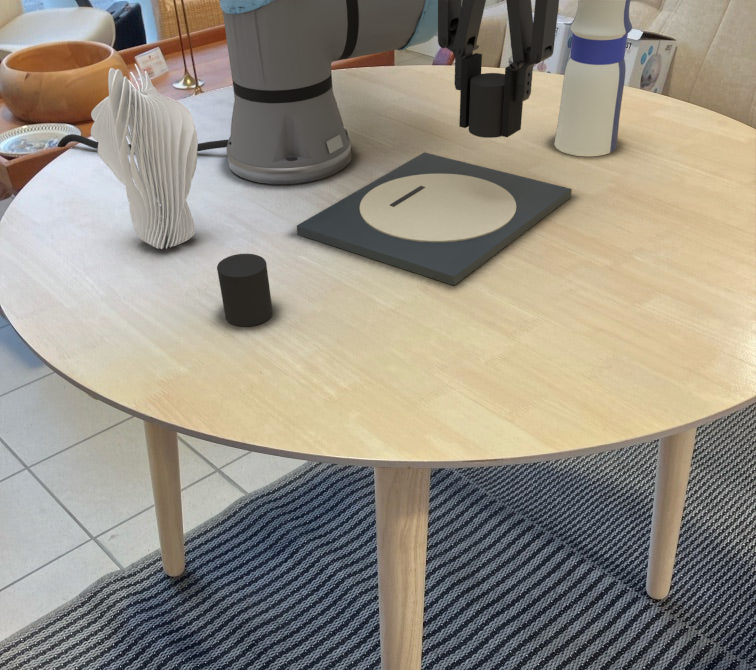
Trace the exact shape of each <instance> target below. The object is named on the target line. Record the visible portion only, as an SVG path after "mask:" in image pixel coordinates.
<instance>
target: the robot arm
mask: <svg viewBox="0 0 756 670" xmlns="http://www.w3.org/2000/svg"><path fill="white" fill-rule="evenodd" d="M505 1H506V11H507V21H508V27H509V28H508V29H509V39H510V47H511V55H512V56H511V57H512V62H511V63H509V64H508V66H506V67H505V69H504V74H505V82H504V98H503V114H502V129H501V137H504V138H509V137H511V136H513V135H514V134H516V133H517V132H519V131H520V130H521V129H522V119H523V118H522V117H523V105H524V102H525V101H526V100H528V99H530V96H531V94H532V83H533V74H534V73H533V72H534V66H535V65H538V64H539V63H542V62H543V61H545V60H548V59H549V58H551V57H552V56H553V54H554V49H555V41H556V33H557V25H558V24H557V23H558V14H559V7H560V6H559V5H560V0H535V1H534V10H533V5H532V0H505ZM486 3H487V0H219V6H220V10H221V11H222V18H223V25H224V31H225V38H226V45H227V53H228V60H229V67H230V75H231V80H232V88H233V96H234V97H233V98H234V101H233V108H232V114H231V123H230V136H229V137H228V139H221V140H213V141H205V142H200V143H199V142H198V147H197V153H198V152H202V151H207V150H214V149H215V150H216V149H222V148H223V149H224V148H226V154H227V155H226V156H227V161H228V167H229V169H230V171H232V173H233V174H235V176H238V177H240V178H242V179H245V180H248V181H251V182H256V183H259V184H268V185H295V184H302V183H303V184H304V183H308V182H309V183H310V182H314V181H318V180H322V179H325V178H327V177H330V176H333V175H335V174H337V173H339V172H340V171H342V170H343V169H345V168H346V167H347V166H349V164H350V162H351V161H352V157H353V156H352V141H351V137H350V135H349V133H348V131H347V129H346V128H345V125H344V123H343V119H342V116H341V112H340V110H339V105H338V103H337V100H336V97H335V94H334V89H333V78H332V77H333V74H332V73H333V72H332V63H333V62H337V61H343V60H344V61H345V60H349V59H355V58H360V57H365V56H371V55H375V54H382V53H386V52H391V51H392V52H393V51H400V52H401V51H405V50H406V49H408V48H410V47H414V46H417V45H422V44H425V43H427V42H429V41H431V40H432V39H433V38H434V37H436V35H437V44H438V46H439V48H442V49H447V50H449V51H450V52H451V53H452V54H453V56H454V88H455V90H456V91H460V93H459V94H460V95H459V127H458V128H463V129H466V128H469V105H470V81H471V78H472V77H474V76H476V75H479V74H482V63H483V54H482V53H478V52H475V51H477V50H478V49H479V48H480V45H478V44H477V42H478V38H479V33H480V30H481V24H482V20H483V15H484V12H485V7H486ZM474 52H475V53H474ZM72 142H76V143H78V144H82V145H85V146H87V147H89V148H93V149H95V150H98V143H99V142H97V141H96V140H94V139H91V138H88V137H86V136H83V135H79V134H73V133H70V134H67V135H65V136H63V137H62V138H61V139H60V141H58V144H57V148H65V147H66V146H67V145H69V143H72ZM128 144H129V147H130V150H131V144H130V143H128Z"/></svg>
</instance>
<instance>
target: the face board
mask: <svg viewBox="0 0 756 670" xmlns="http://www.w3.org/2000/svg"><path fill="white" fill-rule="evenodd" d="M572 191H573V189H572V188H570V187H566V186H562V185H559V184H554V183H550V182H546V181H542V180H538V179H534V178H529V177H525V176H523V175H522V176H521V175H517V174H513V173H511V172H505V171H501V170H497V169H493V168H491V167H486V166H481V165H478V164H473V163H469V162H465V161H461V160H457V159H453V158H449V157H445V156H441V155H437V154H433V153H429V152H425V151H424V152H422V153H421V154H419V155H417V156H415V157H413V158H412V159H410V160H408V161H406V162H404V163H403V164H401V165H400V166H397V167H396V168H395V169H393V170H391V171H389V172H387V173H385V174H384V175H382V176H381V177H379V178H377V179H375V180H373V181H372V182H370V183H368V184H367V185H364V186H363V187H361V188H359V189H358V190H356V191H354V192H352V193H350V194H349V195H347V196H345V197H344V198H342V199H340V200H339V201H337V202H335V203H333V204H331V205H330V206H328V207H326V208H324V209H323V210H320V212H317V213H315V214H314V215H312V216H311V217H309V218H307V219H306V220H304V221H302V222H300V223H298V224H296V234H297V235H298V236H301V237H304V238H308V239H310V240H314V241H316V242H320V243H323V244H326V245H329V246H332V247H335V248H338V249H341V250H344V251H347V252H350V253H353V254H356V255H360V256H362V257H365V258H368V259H371V260H374V261H377V262H381V263H384V264H387V265H390V266H393V267H396V268H399V269H401V270H405V271H408V272H411V273H414V274H417V275H421V276H424V277H425V278H426V277H427V278H430V279H432V280H436V281H439V282H442V283H445V284H447V285H451V286H456V285H457V284H459V283H460V282H461V281H462V280H464V279H465V278H466V277H467V276H469V275H470V274H471V273H473V272H475V271H476V270H477V269H479V268H480V267H481V266H482V265H483V264H485V263H486V262H487V261H489V260H490V259H491V258H493V257H494V256H495V255H496V254H498V253H500V252H501V251H502V250H503V249H505V248H506V247H507V246H509V245H510V244H511V243H512V242H514V241H515V240H517V239H518V238H519V237H520V236H522V235H523V234H525V233H526V232H527V231H529V230H530V229H531V228H532V227H534V226H535V225H536V224H537V223H539V222H541V221H542V220H543V219H544V218H545V217H547V216H548V215H550V214H551V213H552V212H554V211H555V210H556V209H558V208H559V207H560V206H561V205H562V204H564V203H565V202H567V201H568V200H569V199H571V197H572Z"/></svg>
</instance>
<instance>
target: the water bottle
mask: <svg viewBox="0 0 756 670" xmlns="http://www.w3.org/2000/svg"><path fill="white" fill-rule="evenodd" d="M631 1H632V0H577V9H576V14H575V15H574V16H575V17H574V19H573V20H572V21H571V23H570V24H569V29H570V31H571V32H572V35H571V43H570V44H571V45H570V53H569V57H568V59H567V61H566V64H565V67H564V73H563V81H562V88H561V96H560V103H559V104H560V105H559V112H558V117H557V125H556V131H555V137H554V141H553V142H554V143H553V145H554V147H555V149H557V150H558V151H559V152H562V153H564V154H567V155H571V156H577V157H600V156H605V155H608V154H611V153H613V152H614V151H615V150H617V147H618V137H619V127H620V118H621V109H622V100H623V95H624V87H625V82H626V81H625V80H626V69H627V68H626V59H625V57H626V49H627V42H628V35H629V33H630V32H632V30H633V25H632V22H631V19H630V6H631Z"/></svg>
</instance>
